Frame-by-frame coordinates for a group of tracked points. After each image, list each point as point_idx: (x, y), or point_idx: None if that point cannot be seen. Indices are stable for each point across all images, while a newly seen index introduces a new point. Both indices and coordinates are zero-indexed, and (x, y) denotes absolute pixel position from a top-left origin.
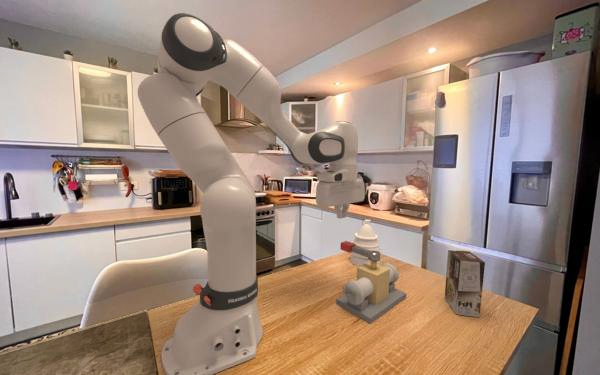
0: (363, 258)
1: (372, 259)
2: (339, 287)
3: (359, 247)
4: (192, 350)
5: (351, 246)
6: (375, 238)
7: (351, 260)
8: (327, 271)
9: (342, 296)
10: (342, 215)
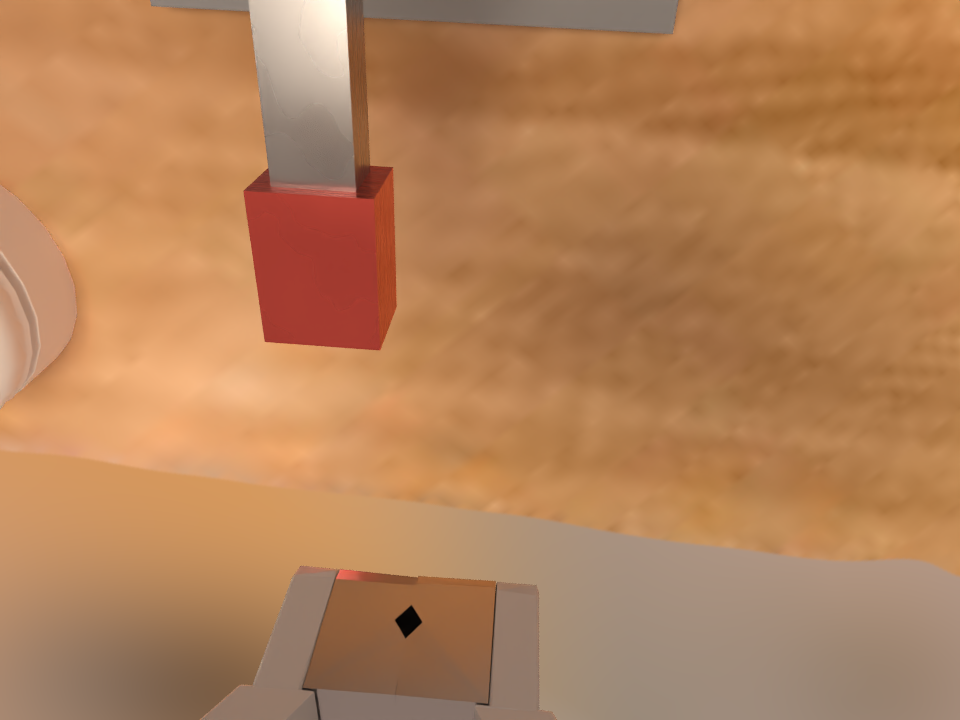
0: None
1: None
2: (454, 158)
3: (277, 90)
4: None
5: (347, 191)
6: None
7: (62, 341)
8: (340, 360)
9: (605, 20)
10: (473, 632)
